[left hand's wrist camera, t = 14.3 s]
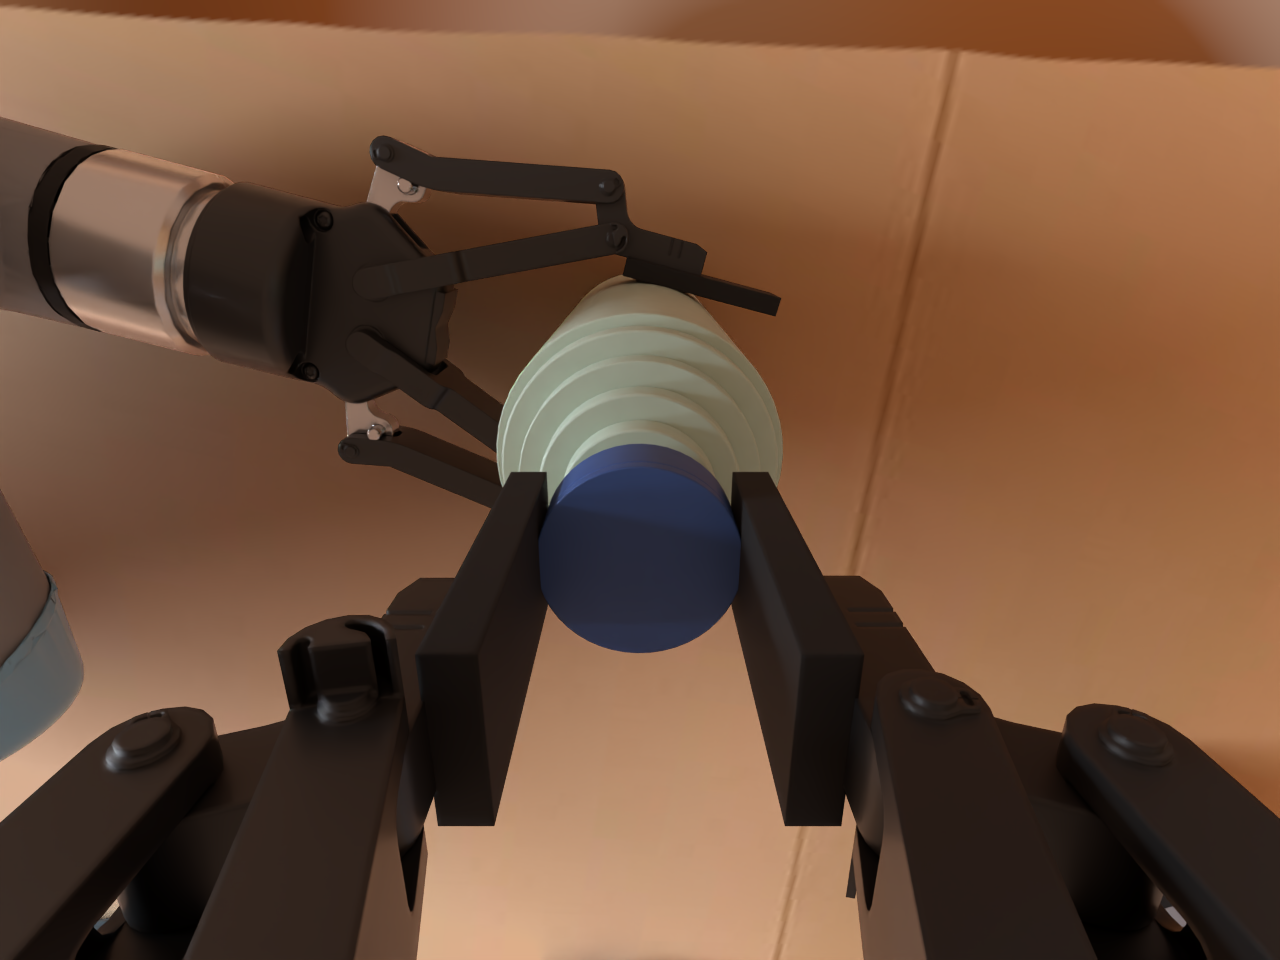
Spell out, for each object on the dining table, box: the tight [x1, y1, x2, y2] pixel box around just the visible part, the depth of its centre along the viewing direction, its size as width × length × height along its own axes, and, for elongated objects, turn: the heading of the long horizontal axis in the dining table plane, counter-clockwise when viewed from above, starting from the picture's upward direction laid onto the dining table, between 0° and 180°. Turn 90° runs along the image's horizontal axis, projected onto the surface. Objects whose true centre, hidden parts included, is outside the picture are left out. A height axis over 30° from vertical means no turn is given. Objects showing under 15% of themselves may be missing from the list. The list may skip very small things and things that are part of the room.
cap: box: [538, 444, 741, 653], centre depth 14 cm, size 4×4×2 cm
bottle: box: [496, 275, 783, 506], centre depth 25 cm, size 8×8×24 cm
